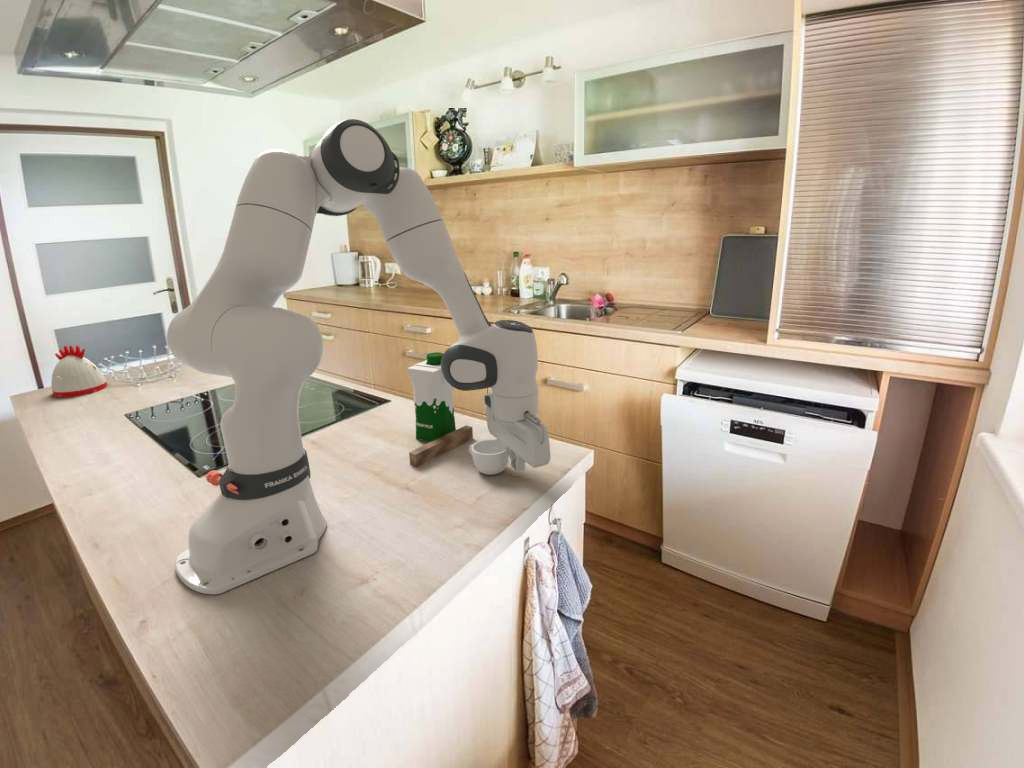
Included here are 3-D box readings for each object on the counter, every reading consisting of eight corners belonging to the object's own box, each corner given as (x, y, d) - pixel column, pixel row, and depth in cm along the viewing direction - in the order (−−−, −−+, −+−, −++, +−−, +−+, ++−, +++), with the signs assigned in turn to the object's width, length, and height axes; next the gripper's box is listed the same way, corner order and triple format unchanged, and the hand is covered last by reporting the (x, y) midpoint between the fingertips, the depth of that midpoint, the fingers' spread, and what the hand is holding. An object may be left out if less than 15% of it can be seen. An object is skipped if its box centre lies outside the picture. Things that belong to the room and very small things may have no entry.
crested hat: (94, 394, 163) (80, 349, 159) (43, 399, 160) (28, 352, 156) (115, 381, 176) (103, 339, 171) (69, 385, 173) (55, 342, 169)
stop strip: (416, 467, 110) (415, 454, 109) (410, 464, 111) (408, 452, 110) (473, 438, 123) (472, 427, 122) (466, 436, 124) (466, 425, 123)
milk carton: (461, 432, 127) (456, 353, 121) (440, 446, 119) (433, 363, 113) (432, 426, 131) (426, 350, 125) (409, 440, 123) (402, 359, 117)
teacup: (517, 467, 108) (516, 444, 106) (493, 482, 102) (492, 458, 101) (481, 455, 114) (480, 433, 112) (457, 469, 108) (456, 446, 107)
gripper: (558, 418, 92) (559, 486, 96) (506, 387, 109) (509, 447, 114) (527, 425, 89) (529, 495, 93) (479, 393, 107) (483, 453, 111)
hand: (518, 468), depth 104 cm, fingers closed
